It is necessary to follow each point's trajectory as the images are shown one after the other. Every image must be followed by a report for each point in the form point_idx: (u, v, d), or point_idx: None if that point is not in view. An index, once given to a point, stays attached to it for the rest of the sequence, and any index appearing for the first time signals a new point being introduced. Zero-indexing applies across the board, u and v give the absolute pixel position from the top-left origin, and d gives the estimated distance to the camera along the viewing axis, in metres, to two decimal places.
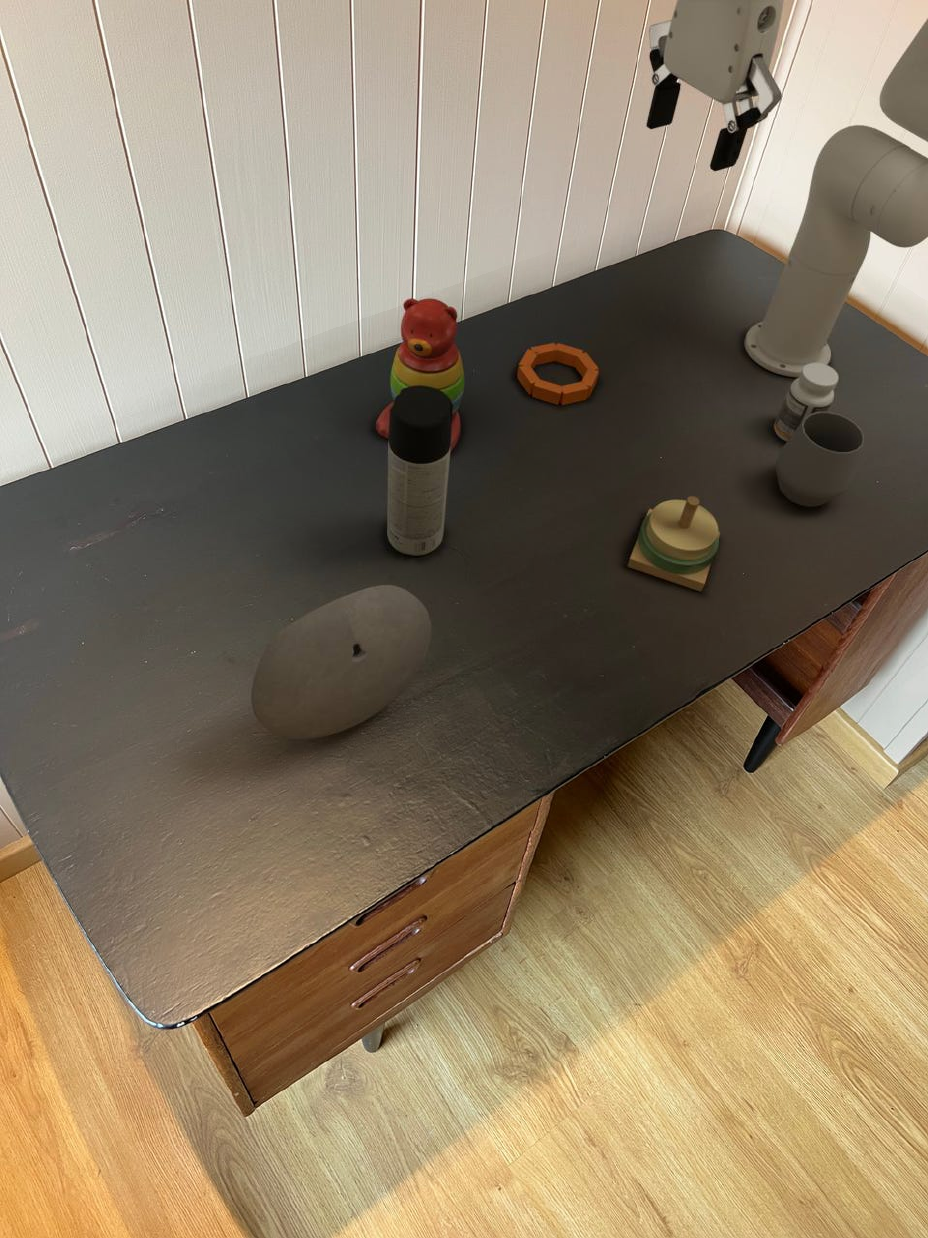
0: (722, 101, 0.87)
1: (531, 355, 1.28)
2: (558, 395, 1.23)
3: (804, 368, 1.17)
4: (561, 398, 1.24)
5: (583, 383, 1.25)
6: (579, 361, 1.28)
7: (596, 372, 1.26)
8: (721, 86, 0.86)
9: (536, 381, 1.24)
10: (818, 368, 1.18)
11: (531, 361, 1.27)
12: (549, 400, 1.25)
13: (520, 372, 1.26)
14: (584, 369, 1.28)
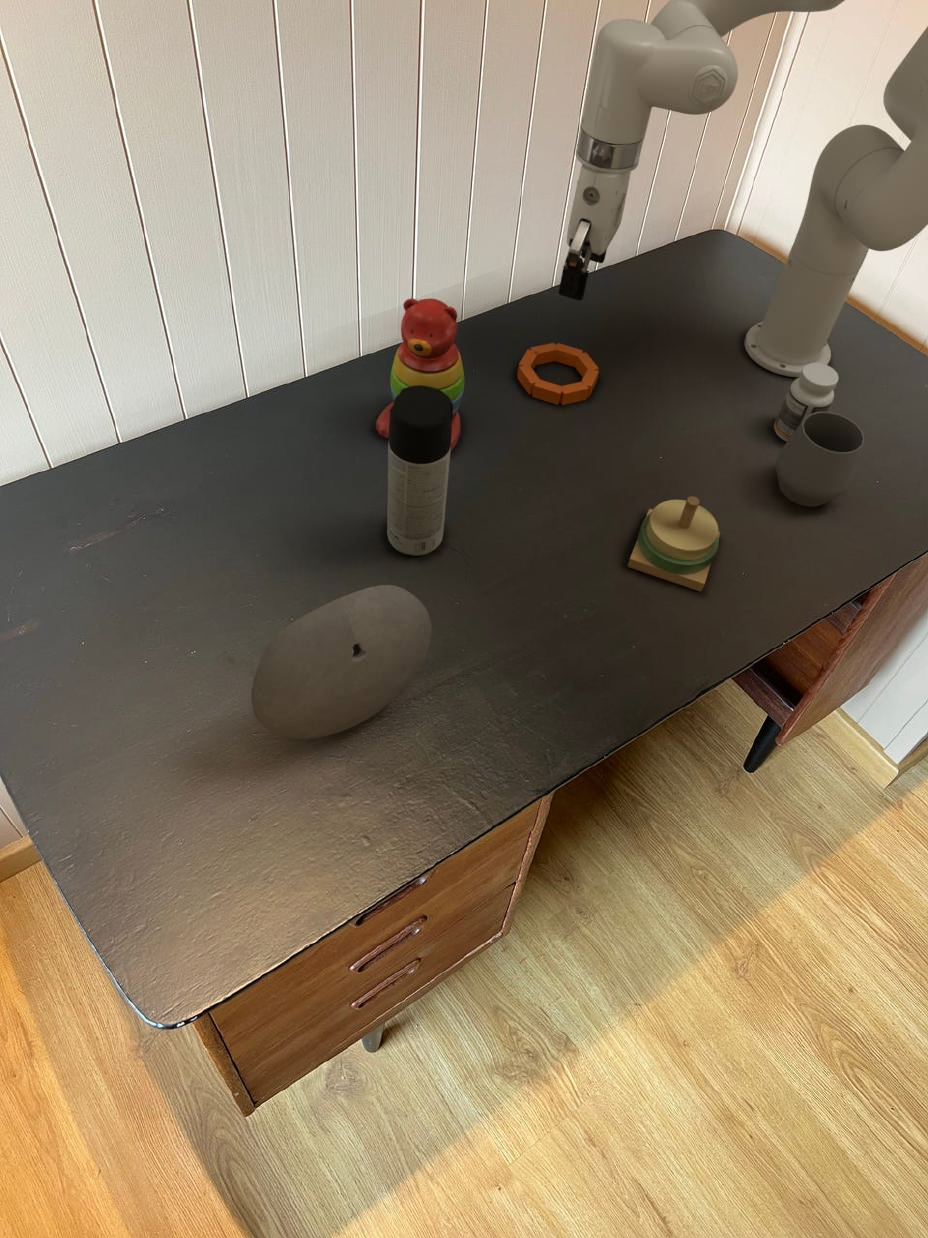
0: None
1: (531, 355, 1.28)
2: (558, 395, 1.23)
3: (804, 368, 1.17)
4: (561, 398, 1.24)
5: (583, 383, 1.25)
6: (579, 361, 1.28)
7: (596, 372, 1.26)
8: None
9: (536, 381, 1.24)
10: (818, 368, 1.18)
11: (531, 361, 1.27)
12: (549, 400, 1.25)
13: (520, 372, 1.26)
14: (584, 369, 1.28)
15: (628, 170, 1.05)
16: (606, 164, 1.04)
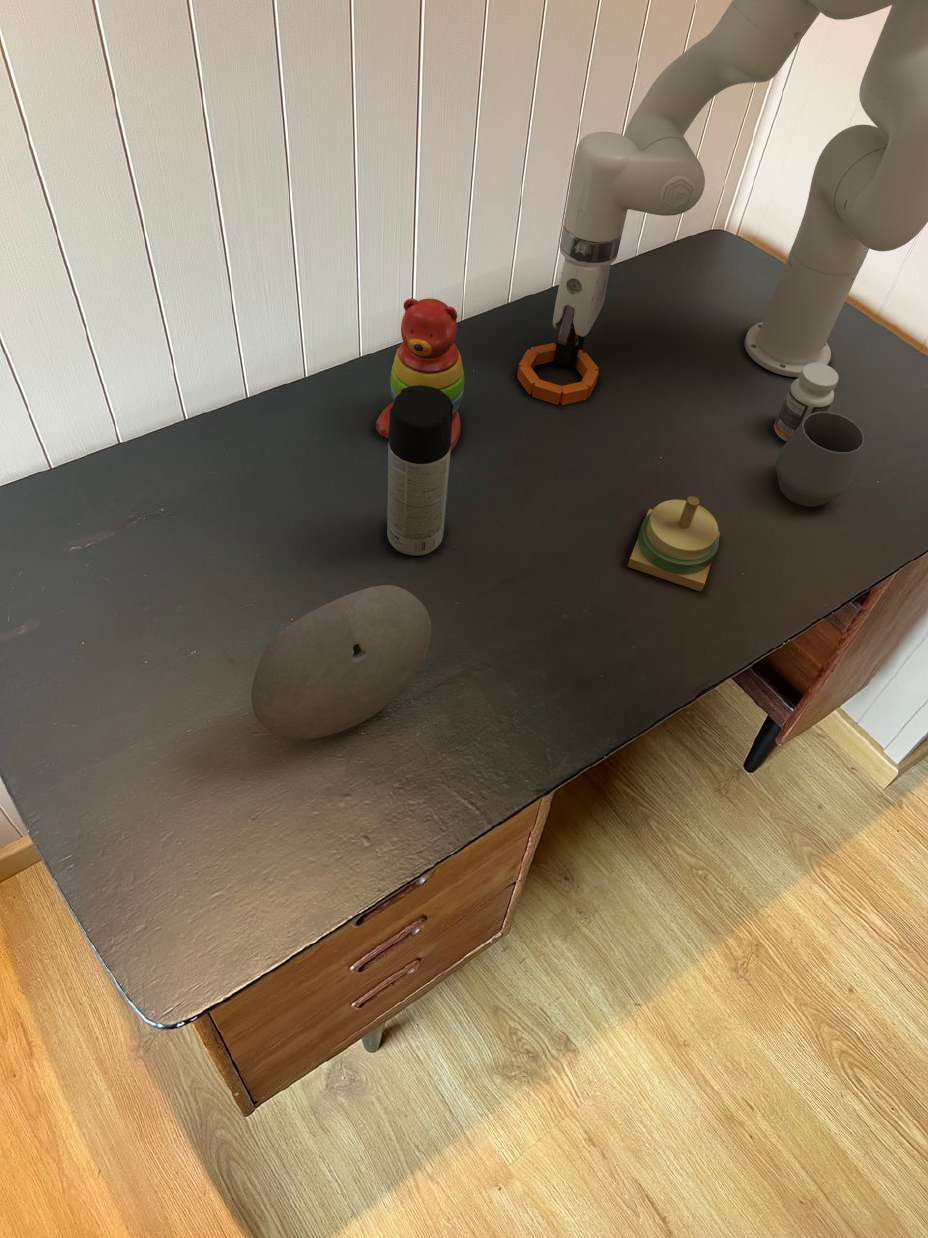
0: None
1: (531, 355, 1.28)
2: (558, 395, 1.23)
3: (804, 368, 1.17)
4: (561, 398, 1.24)
5: (583, 383, 1.25)
6: (579, 361, 1.28)
7: (596, 372, 1.26)
8: None
9: (536, 381, 1.24)
10: (818, 368, 1.18)
11: (531, 361, 1.27)
12: (549, 400, 1.25)
13: (520, 372, 1.26)
14: (584, 369, 1.28)
15: (607, 263, 1.15)
16: (587, 259, 1.14)
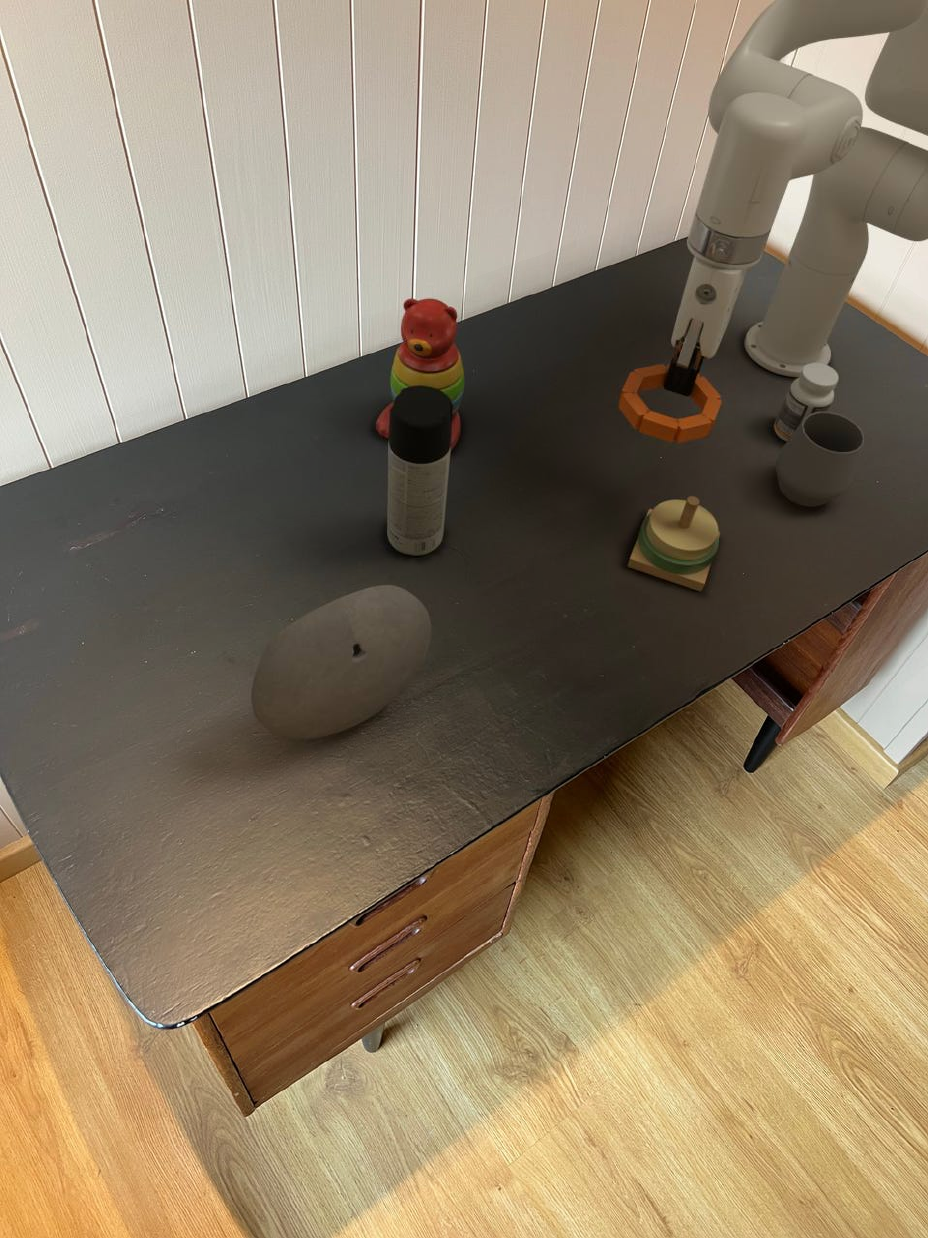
0: None
1: (636, 379, 1.02)
2: (674, 431, 0.98)
3: (804, 368, 1.17)
4: (677, 435, 0.98)
5: (704, 416, 0.99)
6: (696, 387, 1.02)
7: (719, 402, 1.01)
8: None
9: (645, 412, 0.98)
10: (818, 368, 1.18)
11: (637, 387, 1.01)
12: (661, 436, 0.99)
13: (623, 400, 1.00)
14: (702, 398, 1.02)
15: (751, 265, 0.89)
16: (726, 259, 0.88)
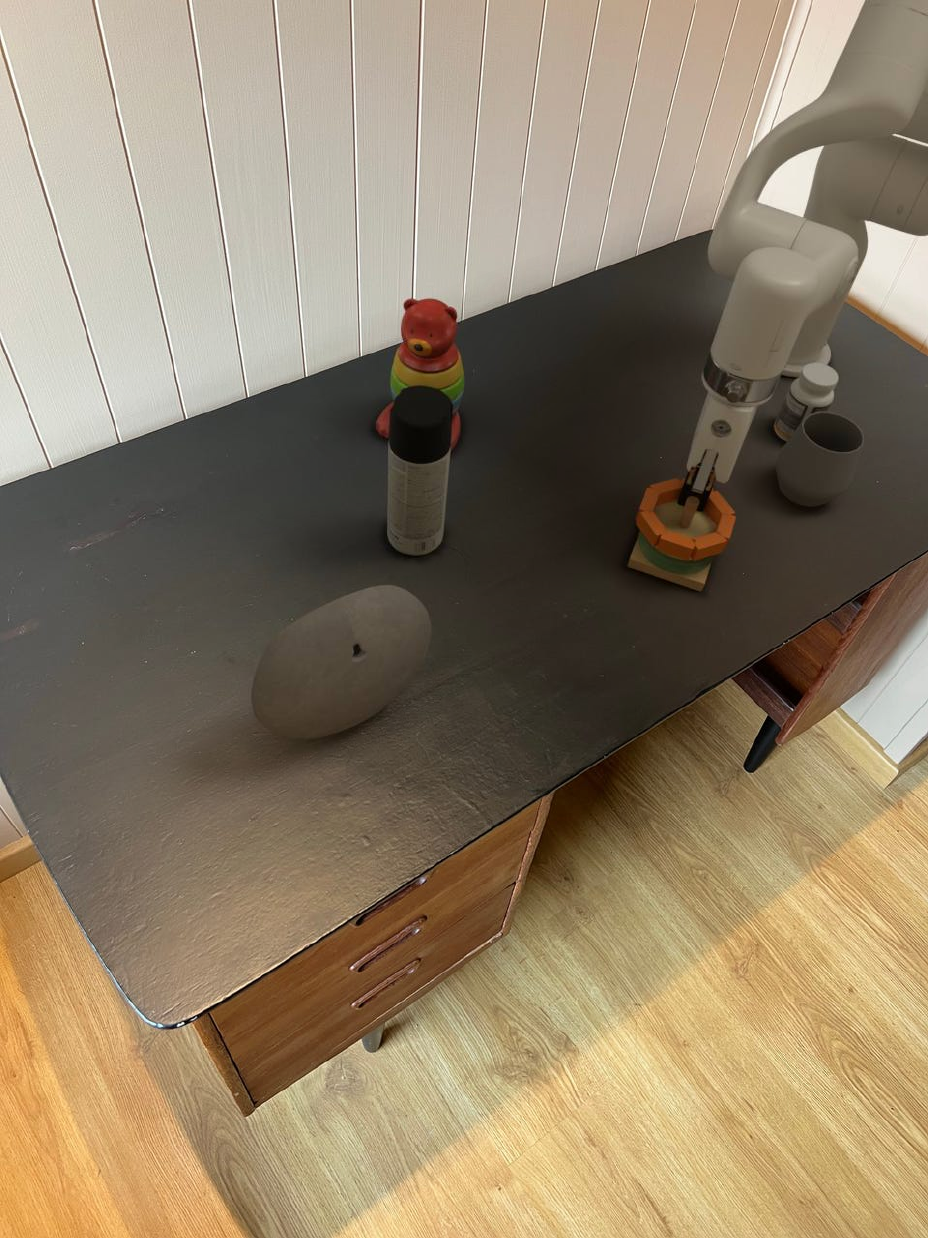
0: None
1: (652, 496, 1.05)
2: (690, 551, 1.01)
3: (804, 368, 1.17)
4: (694, 554, 1.02)
5: (719, 534, 1.02)
6: (710, 502, 1.06)
7: (733, 518, 1.04)
8: None
9: (662, 532, 1.02)
10: (818, 368, 1.18)
11: (653, 504, 1.04)
12: (678, 555, 1.02)
13: (641, 519, 1.03)
14: (717, 513, 1.05)
15: (764, 402, 0.93)
16: (740, 398, 0.92)
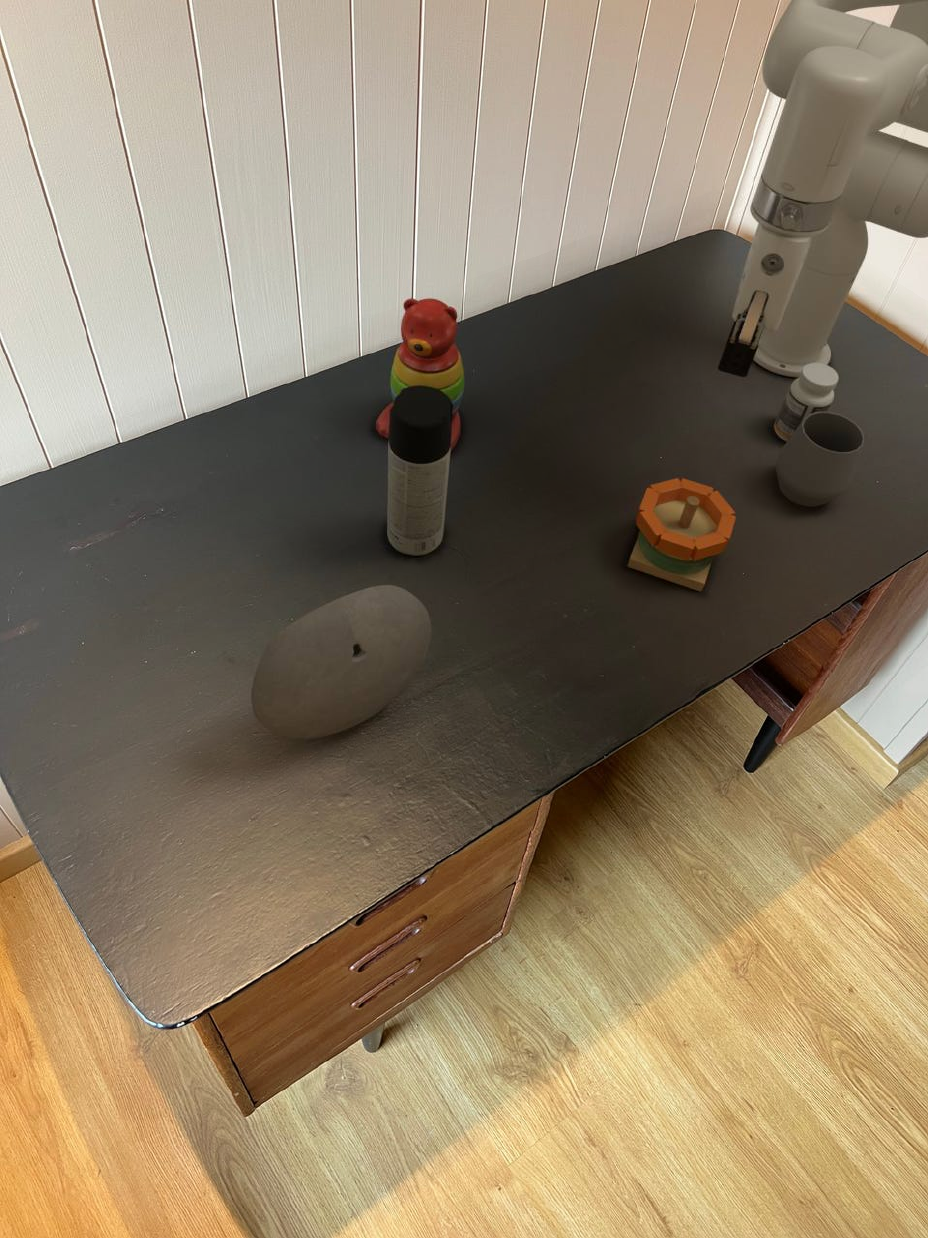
0: (733, 318, 0.92)
1: (652, 496, 1.05)
2: (690, 551, 1.01)
3: (804, 368, 1.17)
4: (694, 554, 1.02)
5: (719, 534, 1.02)
6: (710, 502, 1.06)
7: (733, 518, 1.04)
8: None
9: (662, 532, 1.02)
10: (818, 368, 1.18)
11: (653, 504, 1.04)
12: (678, 555, 1.02)
13: (641, 519, 1.03)
14: (717, 513, 1.05)
15: (820, 232, 0.85)
16: (795, 226, 0.83)
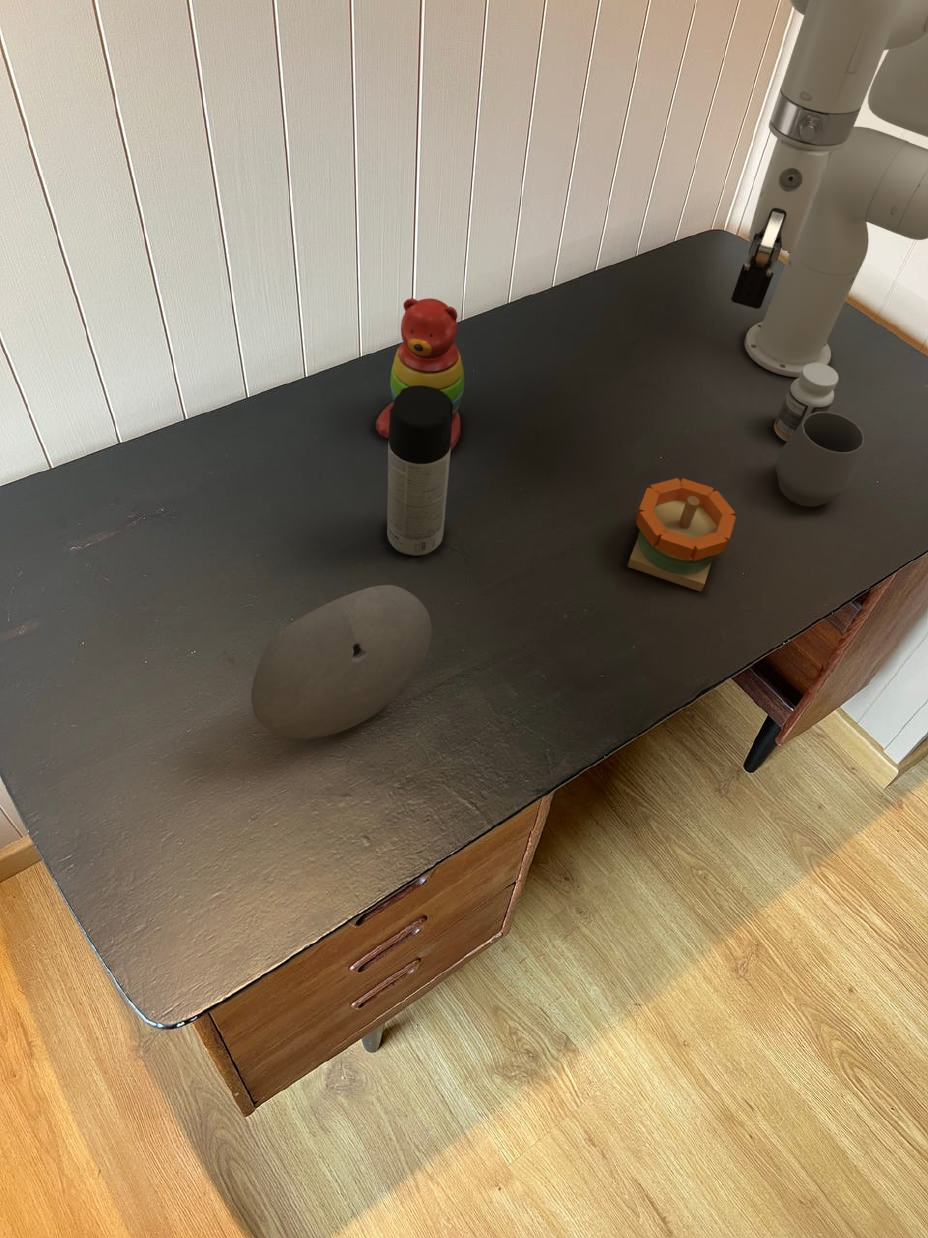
0: None
1: (652, 496, 1.05)
2: (690, 551, 1.01)
3: (804, 368, 1.17)
4: (694, 554, 1.02)
5: (719, 534, 1.02)
6: (710, 502, 1.06)
7: (733, 518, 1.04)
8: (751, 225, 0.91)
9: (662, 532, 1.02)
10: (818, 368, 1.18)
11: (653, 504, 1.04)
12: (678, 555, 1.02)
13: (641, 519, 1.03)
14: (717, 513, 1.05)
15: (839, 147, 0.85)
16: (814, 139, 0.83)
